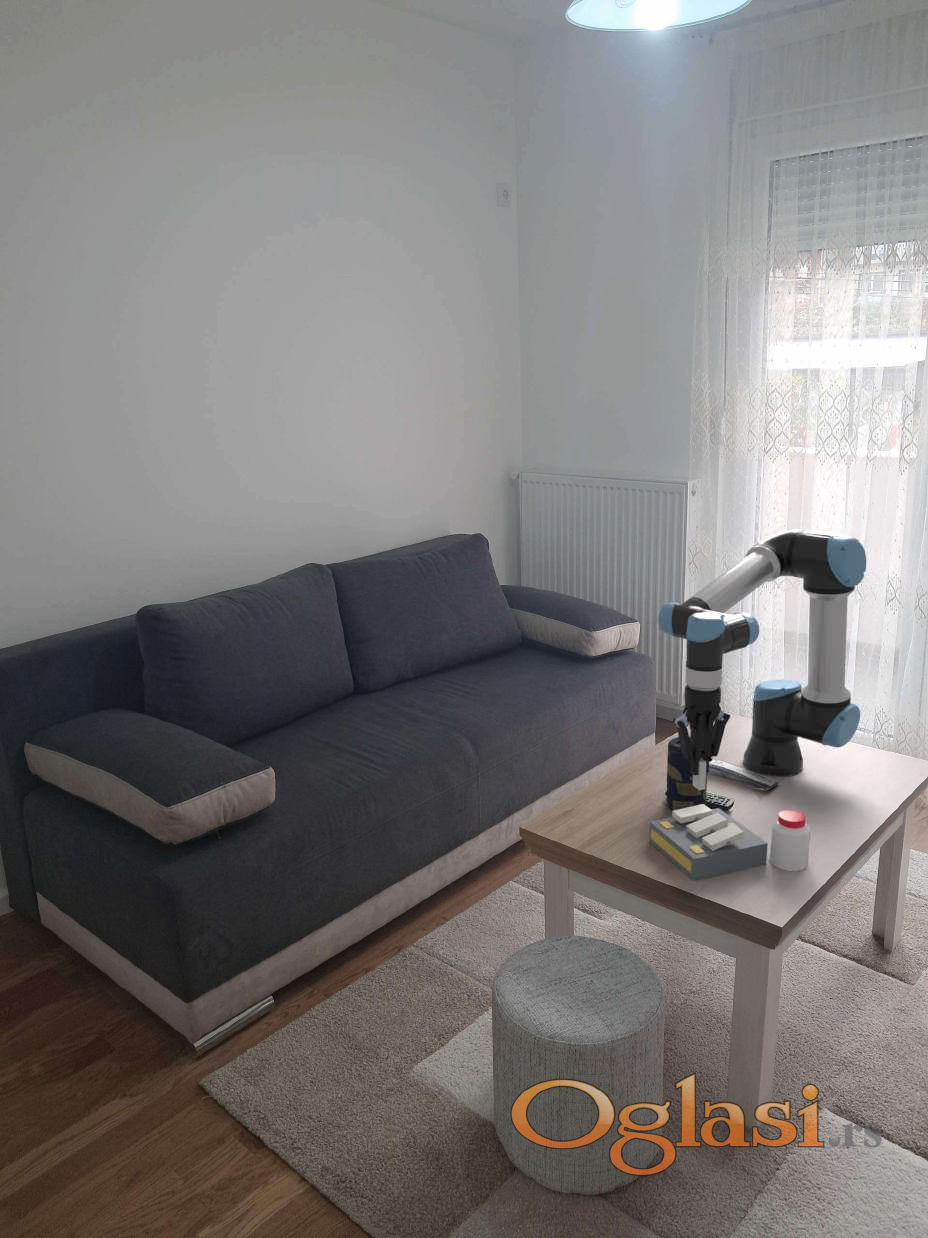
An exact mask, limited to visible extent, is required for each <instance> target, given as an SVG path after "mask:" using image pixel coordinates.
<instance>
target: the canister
mask: <svg viewBox="0 0 928 1238" xmlns="http://www.w3.org/2000/svg"><path fill="white" fill-rule="evenodd" d="M689 739H690V735H689ZM700 758H701V756H700ZM666 763H667V765H666V768H667V769H666V804H667V806H668V807H669V808H670V809H671V810H672V811H674V810H679V809H683V808H687V807H692V806H696V805H700V804H704V805H705V806H707V805H706V804H707V789H708V788H707V787H708V773H706V782H705V789H704V790H698V789H697V788H695V787H694V786H693V774H692V773H691V772H690V765H691V761H689V760H688V759H686V758H685V757H683V755H682V750H681V745H680V740H679V736H677V737H673V738H672V739H671V740H669V741H668V744H667V762H666Z"/></svg>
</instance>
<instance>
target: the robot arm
mask: <svg viewBox="0 0 928 1238" xmlns="http://www.w3.org/2000/svg"><path fill="white" fill-rule="evenodd" d="M866 570H867V553H866V551H865V548H864V546H863V544H862V542H860V540H859V539H858V538H856V537H855V536H850V535H846V534H842V533H835V532H826V531H825V532H824V531H814V530H806V529H799V528H798V529H791V530H790V529H789V530H785V531H782V532H779V533H776V534H773V535H771V536H769V537H767V538H765V539H762V540H761V541H759V542H758V543H757V544H755V545H754V546H752V547H751V548H750V549H749V550H747V552H746V554H745V557H743V558H742V559H741V560H740V561H738V562H737V563H736V564H735V565H733V566H731V567H730V568H728V569H727V570H726V571H725V572H723V573H721V575H720V576H718V577H717V578H716V579H714V580H712V581H711V582H710V583H708V584H707V585H706V586H704V587H703V588H701V589H700V590H699V591H698V592H696V593H694V595H692V596H690V597H689V598H688V599H687V600H685V601H683V603H679V602H667V603H665V604H664V605H663V606H662V607H661V608H660V610H659V612H658V616H657V617H658V618H657V623H658V629H659V630H660V631H661V632H662V633H663V634H664V635H665V634H666V635H669V636H673V637H674V638H677V639H678V638H679V639H682V640H686V659H685V660H686V661H685V678H684V679H685V681H684V682H685V684H686V685H685V686H684V704H685V705H684V709H683V710H682V715H680V716H679V717H674V718H673V719H672V722H673V724H674V726H676V729H677V735H678V737H679V740H680V745H681V750H682V755H683V757H685V758H686V759H688V760H689V761H691V765H690V772H691V773H692V774H693V786H694V787H695V788H697V789H698V790H704V789H705V782H706V773H707V774H708V773H709V772H710V762H712V761H713V760H714V759H713V758H714V757H718V756H719V753H720V752H719V751H720V747H721V744H722V740H723V736H724V734H725V729H726V726H727V724H728V722H729V721H730V718H731V715H730V714H729V713H727V712H726V711H724V710H722V708H721V705H720V704H721V702H722V701H721V699H722V687H721V686H722V681H723V659H724V658H723V656H724V654H727V653H730V652H734V651H738V650H740V649H745V648H747V647H748V646H749V645H752V644H754V643H755V642H756V641H757V639H758V638H759V635H760V625H759V622H758V621H757V619H756V617H754V615H752V614H751V613H749V612H746V611H742V612H734V613H732V614H730V613H726V612H727V611H728V610H730V609H731V608H733V607H734V606H736V605H737V604H738V603H739V602H741V601H742V600H743V599H744V598H746V597H747V596H748V595H750V594H751V593H753V592H754V591H755V590H757V589H758V588H759V587H760V586H762V585H763V584H764V583H769V582H770V583H771V582H774V581H776V580H777V579H778V578H779V577H793V578H794V577H795V578H799V579H803V580H802V581H803V583H802V585H803V586H802V589H803V591H805V593H807V594H808V595H809V607H808V608H809V612H808V615H809V616H808V622H809V623H808V655H807V656H808V658H807V659H808V661H807V662H808V663H807V685H806V686H804V687H803V686H802V684H801V682H799V681H798V680H792V679H771V680H765V681H762V682H760V683H758V684H757V685H756V686H755V688H754V691H753V699H752V702H753V703H752V704H753V706H752V721H751V722H752V723H751V724H752V725H751V735H750V736H751V737H750V738H749V742H748V745H747V748H746V749H745V751H744V753H743V760H742V761H743V765H744V766H745V767H746V768H747V769H749V770H750V771H753V772H755V773H757V774H762V775H766V776H775V777H787V776H793V775H796V774H799V773H800V772H802V771H803V768H804V767H803V766H804V758H803V755H802V751H801V747H800V744H799V738H801V739H805V740H808V741H811V742H815V743H818V744H821V745H822V746H829V747H832V748H842V747H844V746H845V745H847V744H848V743H849V742H850V741H851V740H852V738H853V737H854V735H855V734H856V732H857V730H858V727H859V723H860V720H861V719H860V718H861V709H860V707H859V706H858V705H857V704H856V703H851V699H852V697H851V696H852V694H851V691H850V689H847V687H845V684H846V657H847V656H846V654H847V628H848V627H847V626H848V623H847V622H848V600H849V599H848V597H849V596H850V595H851V594H852V593H853V592H855V590H856V589H855V588H856V586H858V585H860V583H862V581H863V579H864V578H865V572H866ZM688 723H689V730H690V733H689V730H688V727H687V726H688ZM689 734H690V735H689ZM689 736H690V739H689ZM700 756H701V758H700Z"/></svg>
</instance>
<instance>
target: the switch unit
mask: <svg viewBox="0 0 928 1238" xmlns="http://www.w3.org/2000/svg"><path fill="white" fill-rule="evenodd" d="M711 810H712V815H713V814H715V813H717V812H718V813H719V814H720V815H722V816H723V817H724V818H726V819H727V822H728V825H727V826H724V827H722V828H720V829H717V830H715V832H716V831H719V830H721V829H723V828H726V827H728V826H731V825H733V824H734V825H735V826H737V827H738V828H740V829H741V830H742V831H744V838H741V839H739V840H737V841H734V842H732V843H731V845H730V846H728V845H725V846H723V847H721V848H718V849H716V850H714V851H712V850H711V849H709V848H708V847H707V846H706V845H704V844H703V841H702V837H705V836H707V835H709V834H712V833H711V832H710V833H708V834H705V835H703V836H701V837H698V838H696V837H694V836H693V835H692V834H691V833H689V832H688V831H687V826H686V825H689V824H691V823H694V822H696V821H695V820H694V821H689V822H685V823H680V822H679V821H677V820H676V819H675V818H674V817H672V816H671V817H666V818H663V819H661V818H660V819H657V820H656V819H655V820H651V821H650V822H649V843H650V844H651V845H652V846H654V848H656V849H657V850H658V851H659V852H660V853H661V854H663V856H665V857H666V858H667V859H668V860H669V861H670V862H672V863H673V864H674V865H675V866H676V867H677V868H678V869H680V870H681V871H682V872H683V873H684V874H685V875H686V876H688V877H689V878H690V879H691V880H692V881H698V880H702V879H706V878H707V879H708V878H711V877H716V876H721V875H725V874H729V873H734V872H737V871H744V870H747V869H752V868H756V867H760V866H765V865H767V860H768V859H767V857H768V845H769V843H768V842H767V841H765V840H764V839H762V838H761V837H760V836H758V835H757V834H756V833H754V832H753V831H752V830H750V829H749V828H747V827H746V826H744V825H743V824H742V823H740V822H738V821H737V820H736V819H735V818H733V817H732V816H731V815H729V814H728V813H726V812H725V811H723V810H722V809H721V808H719V807H718V808H712V809H711ZM702 819H703V818H702ZM699 820H701V819H699Z"/></svg>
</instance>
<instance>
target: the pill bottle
mask: <svg viewBox="0 0 928 1238" xmlns="http://www.w3.org/2000/svg"><path fill="white" fill-rule="evenodd" d="M806 819H807V817H806V815H805V814H804V813H802V812H801V811H799V810H795V809H794V810H793V809H792V810H791V809H784V810H780V811H779V812H778V817H777V819H775V820H774V821H773V822H772V826H771V837H770V838H771V839H770V852H769V853H770V854H769V862H770V863H771V864H772V866H774V867H775V868H778V869H780V870H781V871H782V870H783V871H787V872H802V871H803V870H805V869H807V868H808V866H809V856H810V855H809V854H810V853H809V852H810V841H811V827H810V826H809V824H807V822H806Z"/></svg>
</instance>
